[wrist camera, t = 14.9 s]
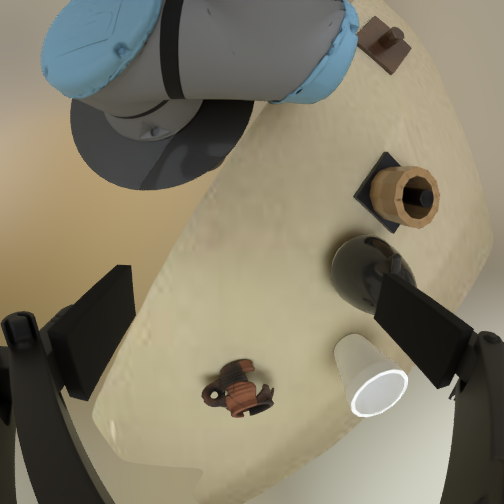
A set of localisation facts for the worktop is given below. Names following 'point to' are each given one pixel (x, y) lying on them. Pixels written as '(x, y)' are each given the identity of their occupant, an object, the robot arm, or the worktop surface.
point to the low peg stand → (383, 44)
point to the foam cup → (368, 376)
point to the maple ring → (391, 191)
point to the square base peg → (409, 196)
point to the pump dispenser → (366, 270)
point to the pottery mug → (238, 391)
